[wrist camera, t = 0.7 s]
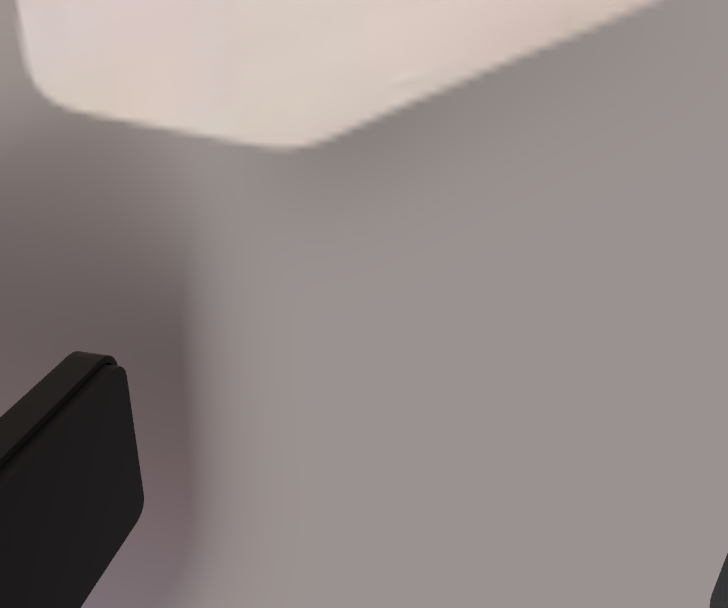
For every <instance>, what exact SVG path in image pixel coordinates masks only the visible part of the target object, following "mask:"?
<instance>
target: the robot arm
mask: <svg viewBox="0 0 728 608" xmlns="http://www.w3.org/2000/svg"><path fill="white" fill-rule="evenodd" d="M143 503H144V494H143V487H142V480H141V473H140V466H139V459H138V452H137V445H136V438H135V431H134V424H133V417H132V410H131V403H130V396H129V389H128V382H127V375H126V371H125V370H124V368H123V367H120V366H118V365H117V362H116V361H115V359H114V358H113V357H112V356H109V355H102V354H95V353H88V352H81V351H76V352H73V353H71V354H70V355H68V356H67V357H66V358H65V359H64V360H63V361H62V362H61V363H60V364H59V365H57V366H56V367H55V368H54V369H53V370H52V371H51V372H50V373H49V374H48V375H46V376H45V377H44V378H43V379H42V380H41V381H40V382H39V383H38V384H37V385H35V386H34V387H33V388H32V389H31V390H30V391H29V392H28V393H27V394H26V395H25V396H23V397H22V398H21V399H20V400H19V401H18V402H17V403H16V404H15V405H14V406H13V407H11V408H10V409H9V410H8V411H7V412H6V413H5V414H4V415H2V416H1V417H0V608H81V606H82V604H83V603H84V602H85V600H86V599H87V597H88V595H89V594H90V592H91V591H92V589H93V588H94V586H95V585H96V583H97V582H98V580H99V579H100V577H101V576H102V574H103V573H104V571H105V570H106V568H107V567H108V565H109V563H110V562H111V561H112V559H113V558H114V556H115V554H116V553H117V552H118V550H119V548H120V547H121V545H122V544H123V542H124V541H125V539H126V538H127V536H128V535H129V533H130V532H131V530H132V529H133V527H134V526H135V524H136V523H137V521H138V519H139V517H140V514H141V512H142V509H143ZM710 608H728V554H727V556H726V559H725V562H724V564H723V567H722V569H721V572H720V575H719V577H718V580H717V582H716V585H715V588H714V590H713V593H712V596H711V600H710Z"/></svg>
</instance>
